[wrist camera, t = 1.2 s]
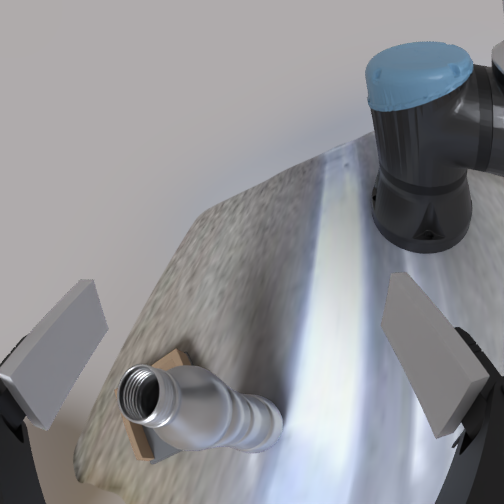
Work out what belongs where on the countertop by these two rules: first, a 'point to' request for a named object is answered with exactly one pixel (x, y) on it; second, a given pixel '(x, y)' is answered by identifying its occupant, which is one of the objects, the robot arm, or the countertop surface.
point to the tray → (146, 438)
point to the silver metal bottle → (197, 409)
